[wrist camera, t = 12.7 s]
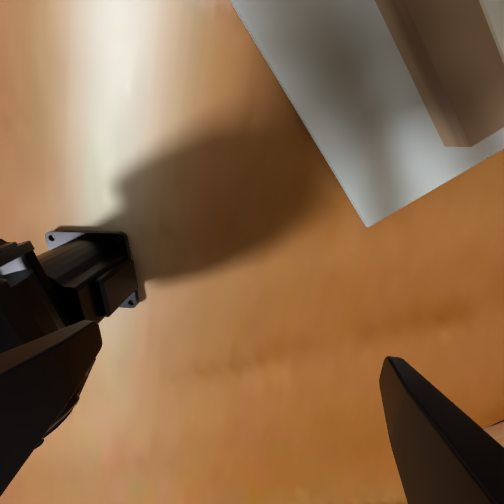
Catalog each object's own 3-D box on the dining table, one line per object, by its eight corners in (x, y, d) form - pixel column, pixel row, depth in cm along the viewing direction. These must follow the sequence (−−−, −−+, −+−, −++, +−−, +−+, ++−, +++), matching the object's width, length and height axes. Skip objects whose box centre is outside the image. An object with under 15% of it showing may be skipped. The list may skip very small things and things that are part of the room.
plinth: (364, 224, 20) (380, 240, 16) (227, -3, 16) (213, -41, 13) (684, 36, 15) (800, 5, 11) (596, -367, 11) (732, -589, 7)
